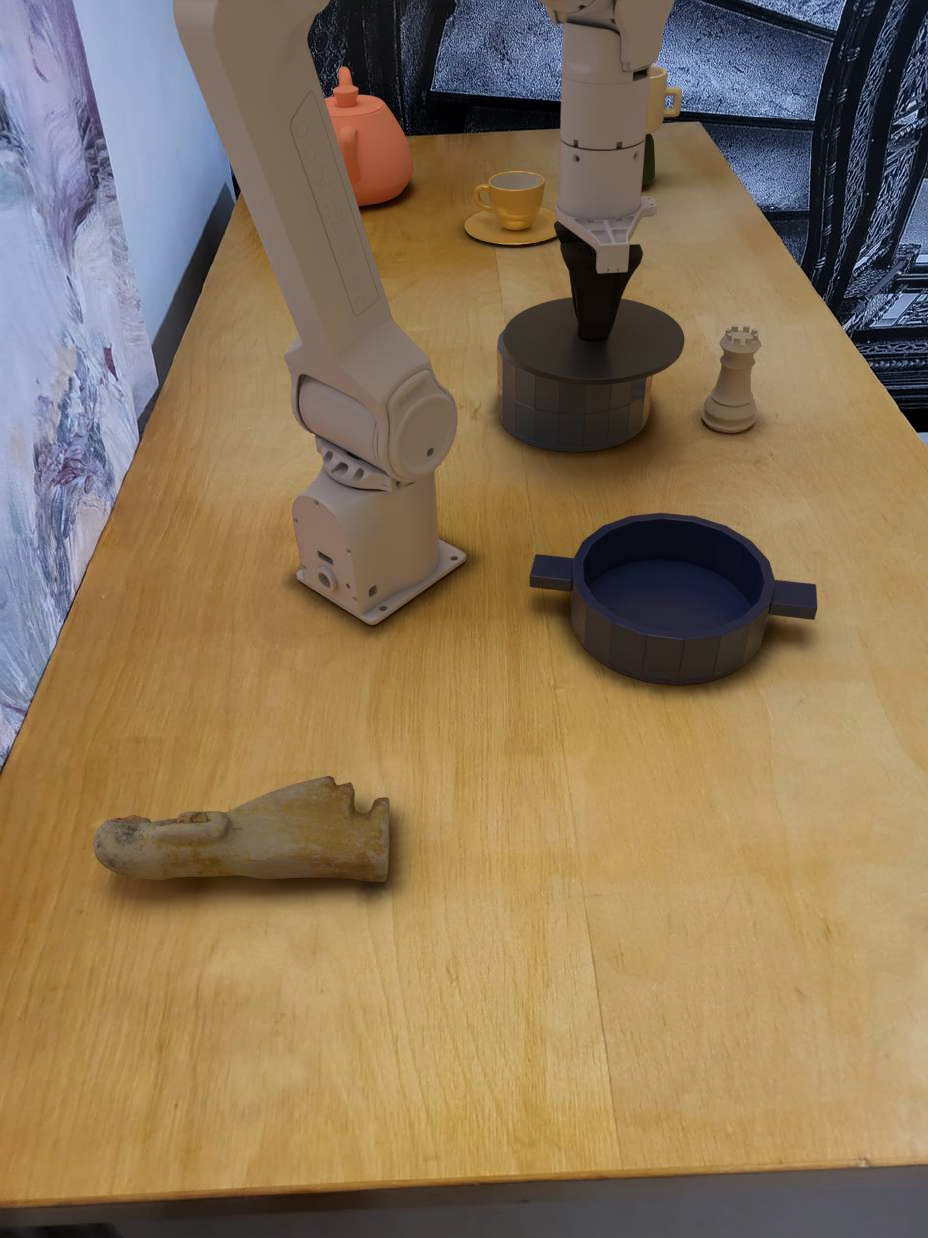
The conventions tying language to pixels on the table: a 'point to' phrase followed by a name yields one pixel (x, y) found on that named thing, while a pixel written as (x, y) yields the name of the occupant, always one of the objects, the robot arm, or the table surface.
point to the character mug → (657, 115)
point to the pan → (671, 597)
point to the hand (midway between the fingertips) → (592, 327)
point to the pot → (568, 409)
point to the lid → (593, 344)
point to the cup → (512, 210)
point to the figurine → (257, 838)
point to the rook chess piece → (733, 383)
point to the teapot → (369, 143)
